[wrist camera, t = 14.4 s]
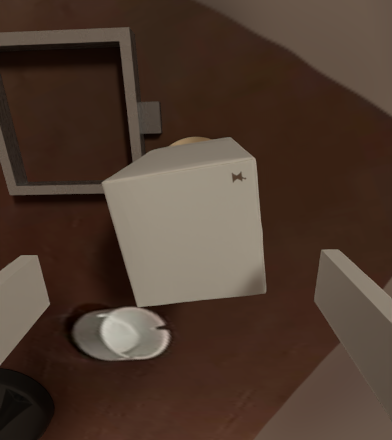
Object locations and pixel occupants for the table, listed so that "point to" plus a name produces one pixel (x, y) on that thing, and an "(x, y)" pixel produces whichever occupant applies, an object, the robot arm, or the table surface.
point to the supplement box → (189, 223)
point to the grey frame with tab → (136, 110)
